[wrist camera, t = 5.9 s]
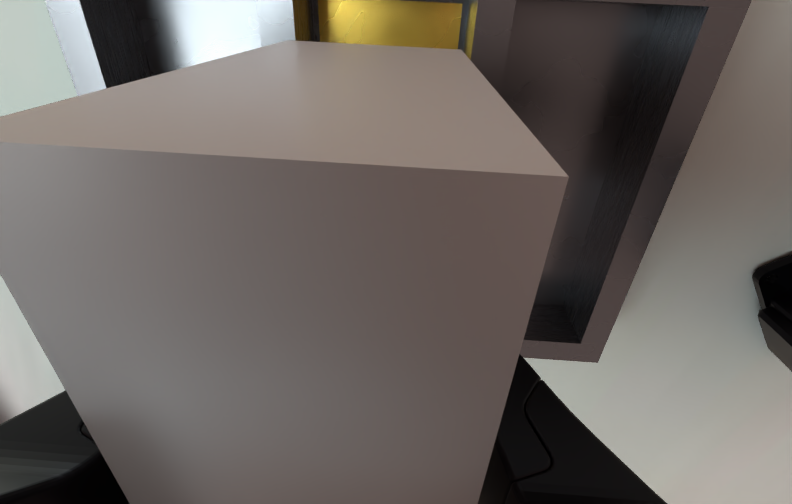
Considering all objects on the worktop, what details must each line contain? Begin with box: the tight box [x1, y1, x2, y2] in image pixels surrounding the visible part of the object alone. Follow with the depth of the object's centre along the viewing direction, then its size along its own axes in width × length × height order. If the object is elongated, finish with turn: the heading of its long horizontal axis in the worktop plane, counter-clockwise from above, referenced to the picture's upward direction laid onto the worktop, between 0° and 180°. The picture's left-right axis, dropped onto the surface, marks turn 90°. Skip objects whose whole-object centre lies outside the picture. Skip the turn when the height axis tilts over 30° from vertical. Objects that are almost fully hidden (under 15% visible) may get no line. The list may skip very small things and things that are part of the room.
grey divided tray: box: [45, 0, 751, 363], centre depth 15 cm, size 19×14×3 cm
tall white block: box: [0, 40, 569, 504], centre depth 8 cm, size 10×4×7 cm, turn 178°
